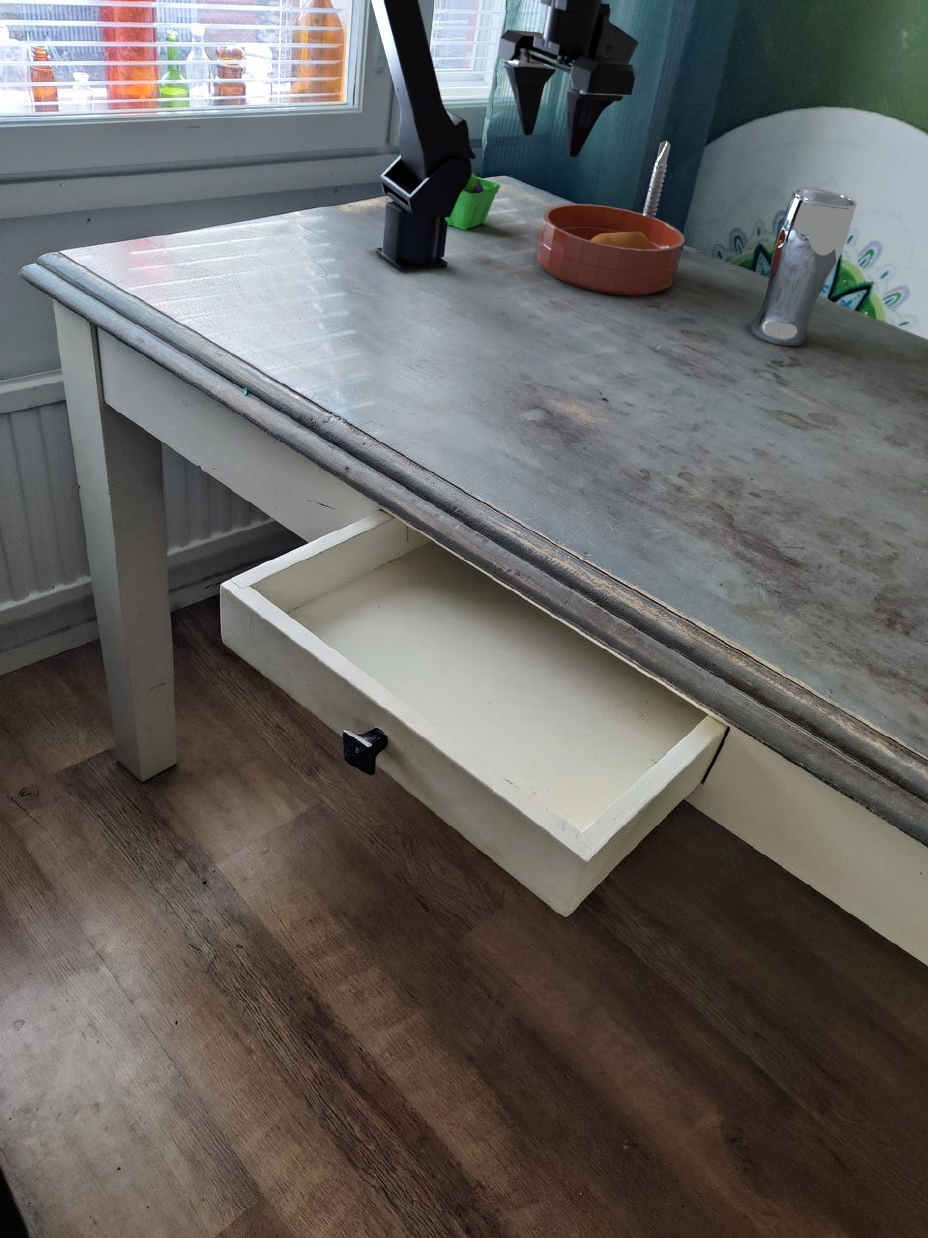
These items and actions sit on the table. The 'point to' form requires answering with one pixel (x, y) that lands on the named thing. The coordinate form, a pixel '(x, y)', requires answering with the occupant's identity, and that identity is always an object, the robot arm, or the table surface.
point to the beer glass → (802, 262)
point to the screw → (657, 180)
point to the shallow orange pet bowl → (608, 250)
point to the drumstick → (624, 240)
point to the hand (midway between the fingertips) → (549, 145)
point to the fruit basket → (473, 203)
